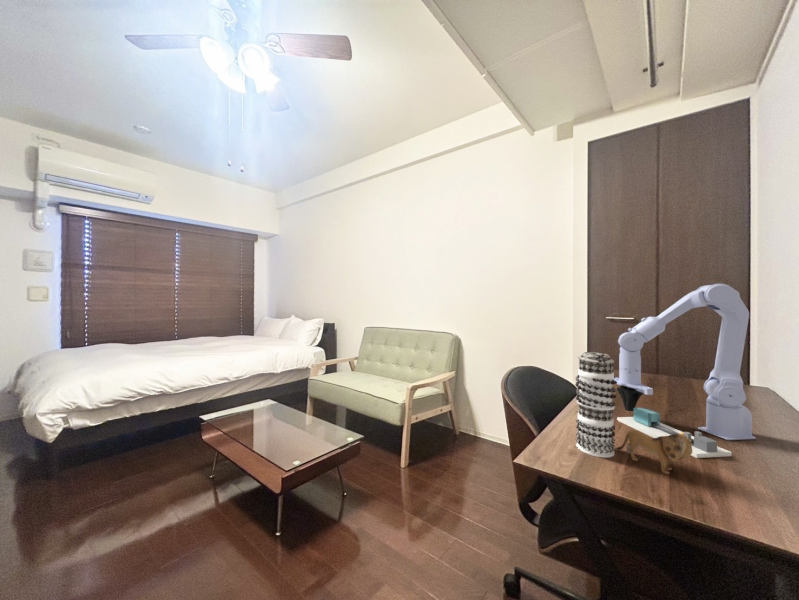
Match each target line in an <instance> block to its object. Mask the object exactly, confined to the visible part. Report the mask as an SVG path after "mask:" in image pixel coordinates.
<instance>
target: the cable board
mask: <svg viewBox="0 0 799 600" xmlns="http://www.w3.org/2000/svg"><path fill="white" fill-rule="evenodd" d="M617 420H618V423H622V424H624V425H625V426H628V427H630V428H632V429H633V430H636V431H640V432H642V433H644V434H645V435H647V436H649V437H652V438H657V437H660V436H669V435H672V434H682V435H685V436H686V437H688V439H689V440H691V446H692V451H693V452H692V454H691V455H690V456H692V457H694V458H696V459H703V458H704V459H705V458H722V457H732V456H733V455H732V454H733V452H732V451H730V450H727V449H726V448H725V449H724V448H722V447H720V446H718V440H717V441H716V440H714V439H712V438H710V437H707V436H705V435H703V432H700V431H697V430H696V431H694V436H693V435H692V433H691V432H689V431H682V430H679V429H676V428H674V427H672V426H670V425H667V424H664V423H662V422H660V425H658V424H656V423H654V422H651V426H647V425H644V424H642V423H640V422H638V421H635V420H634V415H633V416H621V417H620V416H617V417H616V421H617Z"/></svg>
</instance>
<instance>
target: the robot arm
mask: <svg viewBox="0 0 799 600" xmlns="http://www.w3.org/2000/svg"><path fill="white" fill-rule="evenodd" d="M702 307H703V308H704V307H707V308H710V309H711V310H713V311H714V312H716V313H717V314H718V315H719V316H721V323H720V329H719V335H718V341H717V348H716V349H717V350H716V354H715V361H714V368H713V369H712V370H711V371H710V373H709V377H708V379H706V380H705V382H704V384H703V390H704V391H705V393H706V394H707V395H708V397H706V401H705V402H706V404H705V405H706V406H705V411H706V412H705V415H706V417H705V418H706V419H705V426H698V427H697V429H698V430H701V431H702V432H705V433H708V434H711V435H713V436H715V437H719V438H721V439H723V440H726V441H738V440H756V439H757V437H756V436H754V435H753V414H752V412H751V411H750V410H749V408H748V407H746V406H745V405H744V403H745V402H746V401H747V395H746V392H745V390H744V381H743V378H742V376H741V368H742V361H743V354H744V349H745V343H746V339H747V338H746V336H747V331H748V325H749V319H750V312H749V310H748V308H747V306H746V305H745V303H744V301H743V300H742V298H741V295H740V292H739V291H738V290H736V289H735V288H733V287H732V286H730V285H728V284H725V283H714V284H706V285H702V286H699V287H698V288H697V289H696V290H692V291H691V292H689V293H688V294H686V295H684V296H682V298H680V299H678V300H677V301H676V302H674V303H673V304H672V305H671V306H669V307H668V308H667V309H665V310H664V311H663V312H661V313H660V314H659V315H657V316H647V317H643V318H641V319H640V322H639V323H638V324H636V325H635V326H633V327H632V328H631V327H629V328H627V330H628V331H627V332H623V333H622V334H620V335H619V337H618V339H617V343H618V345H619V354H618V358H619V359H618V360H619V362H618V364H619V367H618V368H619V369H618V377H616V376H615V379H612V380H615V381H617V384H616V385H618V386H620V387H616V391H617V392H618V394H619V395H620V398H621V399H622V403H623V407H624V409H625V411H627V412H634V408H636V405H637V404H638V401H639V399H640V398H641V396H642V395H645V396H653V395H654V389H653V387H649V386H648V385H645V384H643V383H642V355H641V350H642V349H643V347H644V343H645V344H646V343H649V341H651V340H652V339H654V338H655V337H656V338H657V336H658V335H660V334H662V333H663V332H665V330H666V325H668V323H670V322H672V321H673V320H675V319H676V318H678V317H681V316H682V315H683V314H685V313H686V312H688V311H690V310H692V309H695V308H702Z"/></svg>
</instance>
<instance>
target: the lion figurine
mask: <svg viewBox="0 0 799 600" xmlns="http://www.w3.org/2000/svg"><path fill="white" fill-rule="evenodd" d="M628 440H629V441H628ZM626 444H627V445H626ZM625 446H626V452H627V453H628V454H630V458H631V460H632V461H635V462H638V461H639V458H638V457H636V456H635V450H636V449H637V447H639V446H640V447H641V448H643V450H644V451H646V452H647V453H649V454H651V455H655V456H657V457H659V461H660V469H661V472H662V473H663V474H664V475H669V474H670V471H672V470H673V469H672V466H669V463H670V461H673V462H677V463H678V462H679V461H681V460H682V459H685V458H686V459H687V458H689V457H690V456H691V454H692V452H693V451H692V446H691V440H689V439H688V437H686V436H685V435H682V434H672V435H669V436H660V437H657V438H653V437H651V436H649V435H647V434H645V433H643V432H640V431H638V430H636V429H632V430H630V431H628V432H627V434H626V436H625V438H624V441H623V443H622V445H621V446H618V447H615V450H618V451H621V450H622V449H624V447H625Z"/></svg>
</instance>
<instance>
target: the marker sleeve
mask: <svg viewBox="0 0 799 600" xmlns="http://www.w3.org/2000/svg"><path fill="white" fill-rule="evenodd" d="M633 416H634V420H635V421H638V422H640V423H642V424H644V425H647V426H651V422H654V423H656V424H658V425H660V423H661V413H660V412H657V411H655V410H652V409H650V408H648V407H635V408H634V411H633Z"/></svg>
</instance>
